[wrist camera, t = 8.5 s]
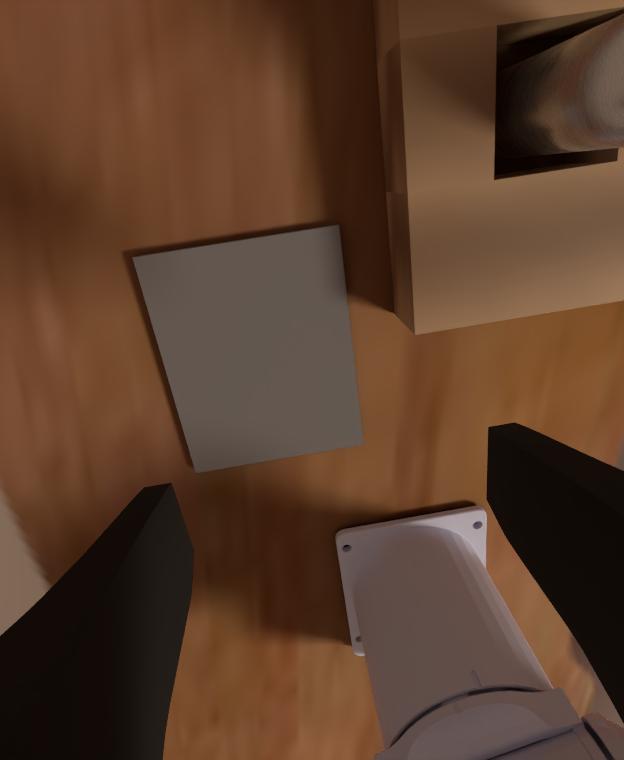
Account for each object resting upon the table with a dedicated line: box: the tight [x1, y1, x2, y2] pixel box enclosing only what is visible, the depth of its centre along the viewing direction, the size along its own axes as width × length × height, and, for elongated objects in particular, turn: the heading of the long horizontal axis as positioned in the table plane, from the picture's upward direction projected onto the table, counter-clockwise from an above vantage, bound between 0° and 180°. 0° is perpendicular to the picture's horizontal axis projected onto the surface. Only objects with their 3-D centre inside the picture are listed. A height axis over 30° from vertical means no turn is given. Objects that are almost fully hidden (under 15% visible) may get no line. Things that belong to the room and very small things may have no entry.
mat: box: [133, 224, 363, 473], centre depth 20 cm, size 10×8×1 cm
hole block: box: [372, 0, 624, 335], centre depth 16 cm, size 14×10×3 cm
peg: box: [494, 14, 624, 158], centre depth 13 cm, size 3×3×9 cm
